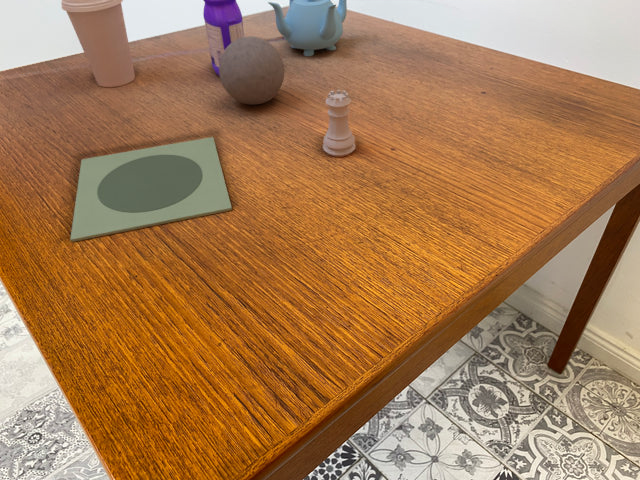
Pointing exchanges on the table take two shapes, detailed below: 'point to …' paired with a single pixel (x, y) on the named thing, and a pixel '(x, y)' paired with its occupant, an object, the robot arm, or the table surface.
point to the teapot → (311, 24)
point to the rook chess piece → (338, 126)
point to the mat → (148, 188)
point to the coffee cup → (102, 39)
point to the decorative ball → (251, 70)
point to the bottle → (222, 27)
